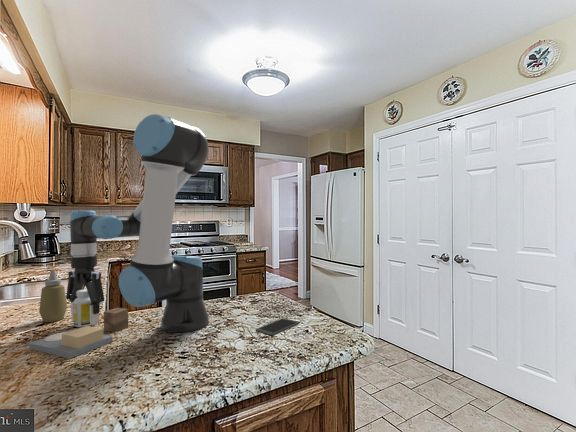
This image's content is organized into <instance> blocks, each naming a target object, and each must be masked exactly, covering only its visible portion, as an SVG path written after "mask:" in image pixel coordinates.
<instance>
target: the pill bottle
mask: <svg viewBox="0 0 576 432" xmlns="http://www.w3.org/2000/svg"><path fill="white" fill-rule="evenodd" d="M76 295H77V298H76V299H75V300H74V302H73V307H74V321H73V326H74V327H76V328H82V327H85V326H92V325H94V324H92V325H91V324H90V304H91V300H90V297H89V294H88V291H87V288H85V289H82V290H79V291H77V292H76Z"/></svg>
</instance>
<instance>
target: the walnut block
mask: <svg viewBox="0 0 576 432" xmlns="http://www.w3.org/2000/svg"><path fill="white" fill-rule="evenodd" d="M124 328H125V329H127V328H129V309H128V308H124V307H116V308H112V309H109V310H104V311H103V331H106V332H111V333H116V332H119V331H122V330H124Z"/></svg>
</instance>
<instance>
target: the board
mask: <svg viewBox="0 0 576 432" xmlns="http://www.w3.org/2000/svg"><path fill="white" fill-rule="evenodd" d="M113 339H114V337H113V336H112V335H107V334H104V328H101V327H96V326H92V325H90V326H85V327H78V328H71V329H69V330H65V331H62V332H57V333H54V334H51V335H48V336H46V337H44V338H41V339H37V340H34V341H30V342H29V343H28V349H29V350H30V349H31V350H34V351H39V352H42V353H45V354H50V355H54V356H57V357H62V358H65V359H69V360H70V359H73V358H75V357H78V356H80V355H83V354H85V353H89V352H91V351H93V350H95V349H98V348H99V347H103V346H104V345H107V344H111V343H112V342H114V341H113Z"/></svg>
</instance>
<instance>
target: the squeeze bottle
mask: <svg viewBox="0 0 576 432" xmlns="http://www.w3.org/2000/svg"><path fill="white" fill-rule="evenodd" d="M66 295H67V294H66V289H65V286H64V285H63V284H62V279H61V278H58V275H57V272H56V270H55V269H51V270H50V272H49V276H48V279H46V280H45V281H44V286H43V287H42V288H41V292H40V301H39V310H38V312H39V314H40V318H41V319H42V321H43V323H53V322H54V323H55V322H58V321H61V320H63V319H64V317H65V315H66V312H67V310H68V304H67V303H68V302H67V299H66Z"/></svg>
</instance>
